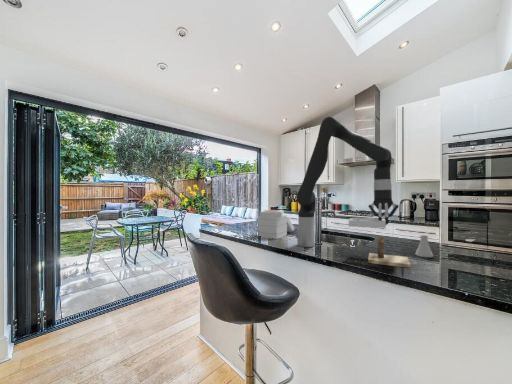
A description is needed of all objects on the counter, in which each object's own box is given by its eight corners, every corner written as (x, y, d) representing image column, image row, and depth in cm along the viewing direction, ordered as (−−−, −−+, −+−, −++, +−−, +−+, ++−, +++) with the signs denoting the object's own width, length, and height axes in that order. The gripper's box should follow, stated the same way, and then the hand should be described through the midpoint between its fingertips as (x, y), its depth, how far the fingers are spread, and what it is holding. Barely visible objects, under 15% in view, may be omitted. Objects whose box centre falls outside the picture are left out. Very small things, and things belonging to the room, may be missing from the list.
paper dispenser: (296, 232, 181) (296, 209, 181) (277, 240, 156) (277, 212, 156) (275, 230, 192) (274, 208, 192) (254, 237, 167) (253, 211, 167)
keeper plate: (368, 262, 107) (368, 238, 107) (369, 256, 117) (369, 233, 117) (410, 267, 99) (410, 241, 99) (407, 260, 110) (407, 236, 110)
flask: (425, 258, 112) (425, 237, 112) (411, 254, 119) (411, 234, 119) (437, 257, 114) (437, 236, 114) (422, 253, 121) (422, 234, 121)
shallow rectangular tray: (348, 226, 117) (348, 220, 117) (350, 223, 126) (350, 218, 126) (385, 227, 110) (385, 221, 110) (385, 224, 118) (384, 218, 118)
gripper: (366, 189, 114) (367, 225, 114) (399, 188, 108) (400, 226, 108) (367, 189, 121) (368, 223, 121) (398, 188, 115) (399, 224, 115)
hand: (383, 224), depth 114 cm, fingers closed on shallow rectangular tray, 1 cm apart
